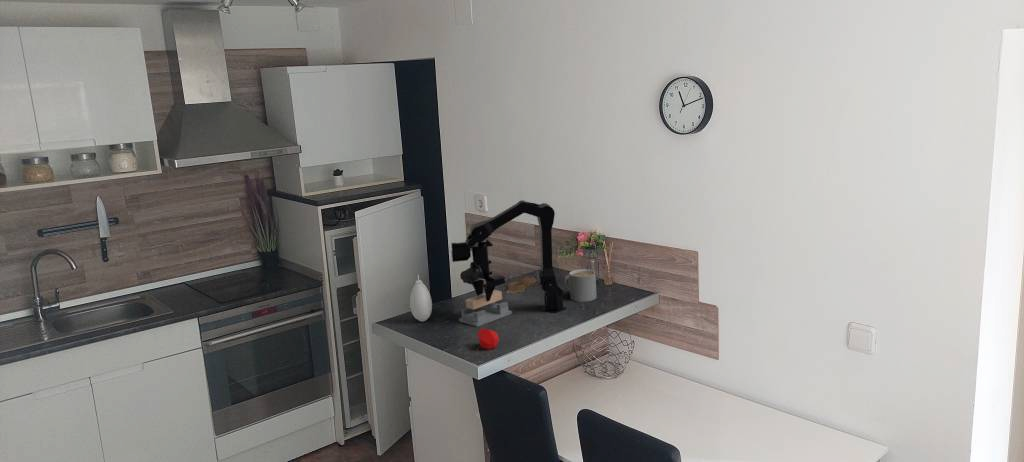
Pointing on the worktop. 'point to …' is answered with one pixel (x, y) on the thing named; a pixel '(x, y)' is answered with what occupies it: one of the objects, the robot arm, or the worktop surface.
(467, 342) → the worktop surface
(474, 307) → the clay bar
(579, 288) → the coffee mug
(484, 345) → the apple
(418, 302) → the white air blower bulb
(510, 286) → the wooden fragment
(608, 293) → the worktop surface
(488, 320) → the grey cradle stand
